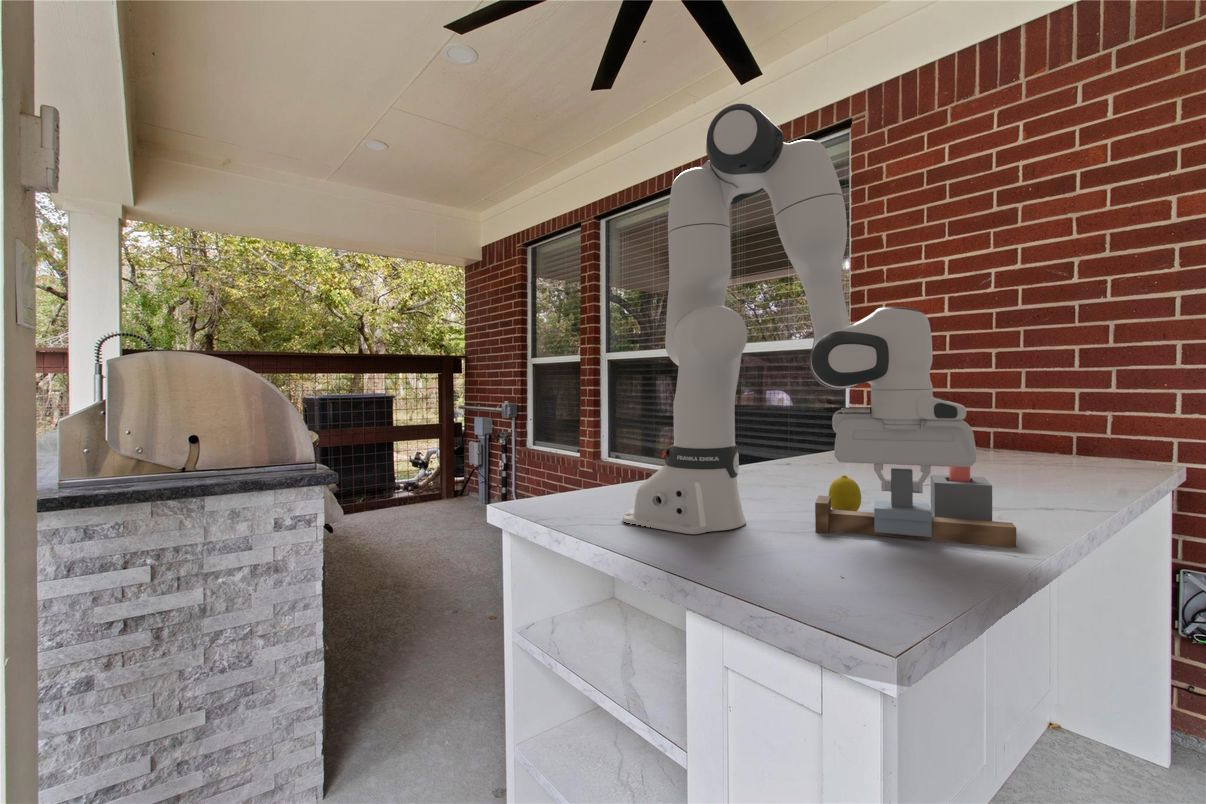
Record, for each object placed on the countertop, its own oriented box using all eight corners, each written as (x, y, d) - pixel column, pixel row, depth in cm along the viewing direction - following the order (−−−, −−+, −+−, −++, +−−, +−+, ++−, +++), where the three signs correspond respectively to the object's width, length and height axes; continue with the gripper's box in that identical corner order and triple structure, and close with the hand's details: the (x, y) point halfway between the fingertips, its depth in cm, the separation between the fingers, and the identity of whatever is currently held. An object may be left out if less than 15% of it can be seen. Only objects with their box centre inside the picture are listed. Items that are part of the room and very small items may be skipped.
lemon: (864, 522, 99) (864, 478, 99) (831, 522, 100) (831, 477, 100) (857, 515, 104) (856, 472, 104) (825, 514, 105) (825, 472, 105)
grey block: (934, 530, 93) (934, 482, 93) (930, 518, 100) (930, 474, 100) (992, 534, 90) (992, 485, 89) (983, 522, 97) (983, 477, 96)
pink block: (950, 498, 94) (950, 463, 94) (948, 494, 97) (948, 460, 97) (971, 499, 93) (971, 464, 92) (968, 496, 95) (968, 461, 95)
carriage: (874, 532, 90) (874, 471, 89) (874, 523, 96) (874, 465, 95) (931, 537, 86) (931, 473, 86) (928, 527, 92) (928, 467, 92)
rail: (815, 531, 94) (815, 502, 94) (818, 523, 99) (818, 495, 99) (1018, 550, 82) (1018, 516, 81) (1009, 539, 87) (1010, 507, 87)
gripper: (830, 408, 92) (831, 491, 92) (978, 408, 83) (978, 500, 83) (833, 406, 98) (834, 484, 98) (972, 405, 88) (972, 492, 89)
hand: (901, 491), depth 91 cm, fingers closed on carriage, 3 cm apart
